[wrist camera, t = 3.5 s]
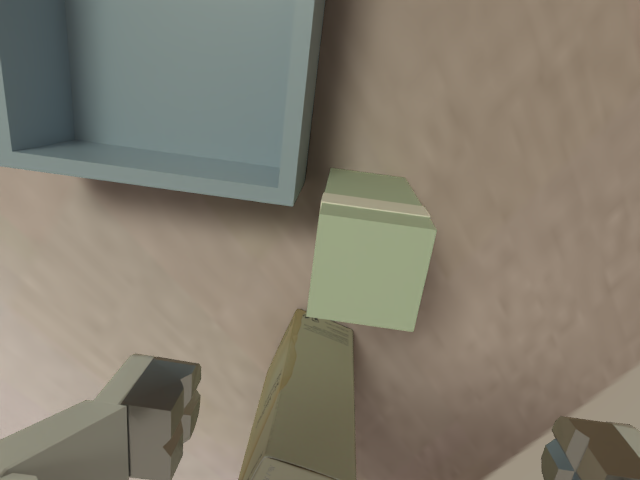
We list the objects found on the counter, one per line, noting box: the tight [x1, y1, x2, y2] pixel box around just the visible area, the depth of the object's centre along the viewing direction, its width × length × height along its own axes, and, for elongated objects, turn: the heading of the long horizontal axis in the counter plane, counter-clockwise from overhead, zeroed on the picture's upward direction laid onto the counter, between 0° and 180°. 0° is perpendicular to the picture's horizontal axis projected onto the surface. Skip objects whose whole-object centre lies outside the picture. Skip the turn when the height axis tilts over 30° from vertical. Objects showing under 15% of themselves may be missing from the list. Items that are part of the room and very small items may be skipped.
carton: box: [306, 168, 437, 332], centre depth 22 cm, size 5×5×10 cm
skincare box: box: [238, 309, 356, 480], centre depth 24 cm, size 6×4×12 cm
